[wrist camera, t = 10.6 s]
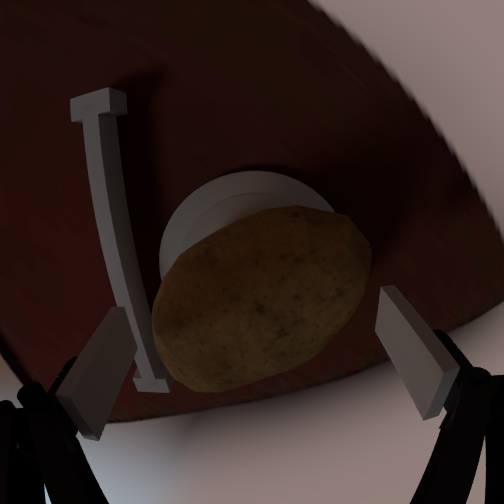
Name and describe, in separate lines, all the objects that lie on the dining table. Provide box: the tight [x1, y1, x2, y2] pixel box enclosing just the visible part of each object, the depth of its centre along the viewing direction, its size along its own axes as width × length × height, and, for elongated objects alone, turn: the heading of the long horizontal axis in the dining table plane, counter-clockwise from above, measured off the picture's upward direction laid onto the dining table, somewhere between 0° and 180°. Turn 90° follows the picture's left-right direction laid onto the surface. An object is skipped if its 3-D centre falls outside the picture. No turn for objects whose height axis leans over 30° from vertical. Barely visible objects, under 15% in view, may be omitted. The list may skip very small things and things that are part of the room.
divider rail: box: [70, 87, 174, 393], centre depth 21 cm, size 24×3×3 cm, turn 5°
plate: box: [159, 170, 335, 280], centre depth 22 cm, size 14×14×1 cm
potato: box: [151, 205, 372, 392], centre depth 18 cm, size 10×14×8 cm
